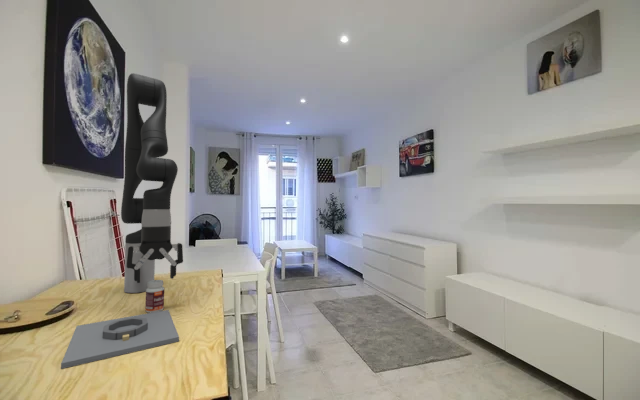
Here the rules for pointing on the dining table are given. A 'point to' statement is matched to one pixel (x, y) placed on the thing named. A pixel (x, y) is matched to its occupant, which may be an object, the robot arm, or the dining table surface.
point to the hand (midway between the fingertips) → (155, 280)
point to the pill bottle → (154, 296)
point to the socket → (119, 337)
